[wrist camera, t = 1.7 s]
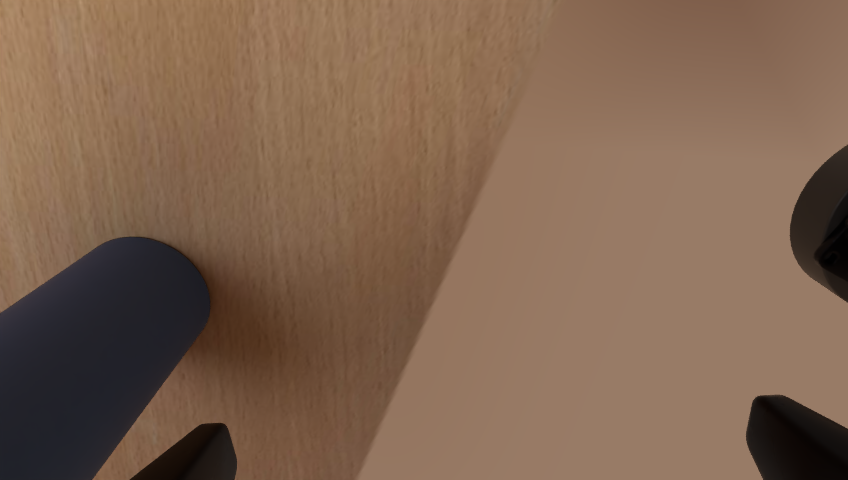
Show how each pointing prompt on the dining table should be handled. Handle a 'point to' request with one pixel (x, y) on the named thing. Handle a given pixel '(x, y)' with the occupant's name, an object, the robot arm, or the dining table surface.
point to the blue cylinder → (92, 355)
